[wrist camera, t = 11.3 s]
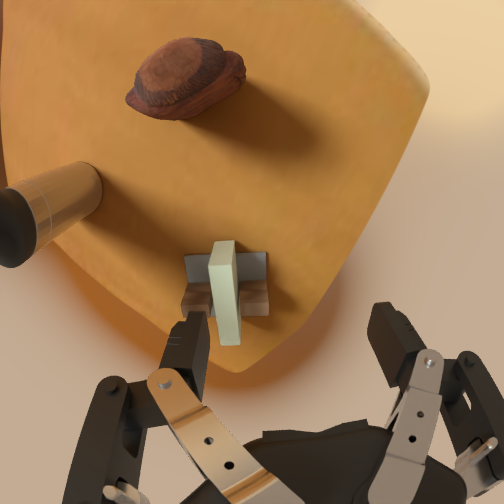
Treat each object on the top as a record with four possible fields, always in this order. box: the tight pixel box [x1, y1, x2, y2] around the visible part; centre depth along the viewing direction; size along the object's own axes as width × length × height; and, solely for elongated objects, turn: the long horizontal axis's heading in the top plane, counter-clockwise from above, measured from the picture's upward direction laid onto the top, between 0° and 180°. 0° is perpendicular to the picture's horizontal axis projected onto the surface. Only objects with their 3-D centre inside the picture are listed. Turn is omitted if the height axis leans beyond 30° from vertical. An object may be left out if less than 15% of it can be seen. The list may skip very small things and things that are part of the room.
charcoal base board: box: [184, 252, 266, 316], centre depth 46 cm, size 13×12×1 cm
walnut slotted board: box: [181, 280, 269, 318], centre depth 43 cm, size 13×2×6 cm, turn 92°
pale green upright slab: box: [208, 240, 241, 346], centre depth 42 cm, size 3×14×8 cm, turn 3°
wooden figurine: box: [125, 37, 246, 121], centre depth 25 cm, size 12×6×18 cm, turn 120°
